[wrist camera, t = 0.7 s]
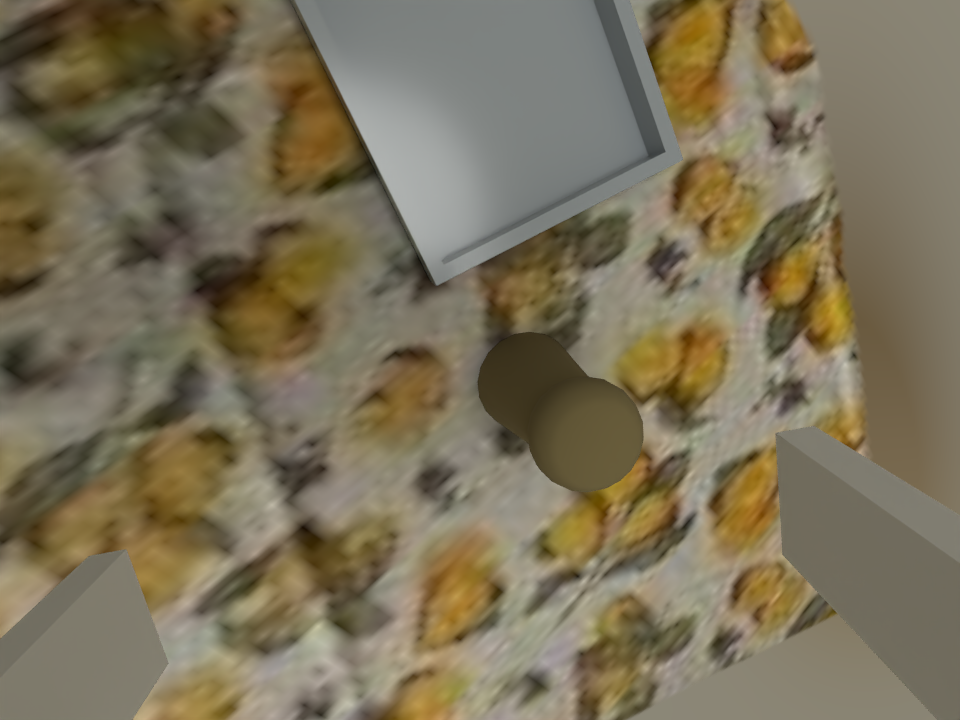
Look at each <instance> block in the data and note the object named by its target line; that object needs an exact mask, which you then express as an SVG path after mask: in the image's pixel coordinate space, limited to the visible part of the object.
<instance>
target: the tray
mask: <svg viewBox="0 0 960 720" xmlns="http://www.w3.org/2000/svg"><path fill="white" fill-rule="evenodd" d="M290 1H291V3H292V5H293V7H294V9H295V11H296V13H297V15H298V17H299V19H300V21H301V23H302V25H303V27H304V29H305V31H306V33H307V35H308V37H309V39H310V41H311V43H312V45H313V47H314V49H315V51H316V53H317V55H318V57H319V59H320V61H321V63H322V65H323V67H324V69H325V71H326V73H327V75H328V77H329V79H330V81H331V83H332V85H333V87H334V89H335V91H336V93H337V95H338V97H339V99H340V101H341V103H342V105H343V107H344V109H345V111H346V113H347V115H348V117H349V119H350V121H351V123H352V126H353V128H354V130H355V132H356V134H357V136H358V138H359V140H360V142H361V144H362V146H363V148H364V150H365V152H366V154H367V156H368V158H369V160H370V162H371V164H372V166H373V168H374V170H375V172H376V174H377V176H378V178H379V180H380V182H381V184H382V186H383V188H384V190H385V192H386V194H387V196H388V198H389V200H390V202H391V204H392V206H393V208H394V210H395V212H396V214H397V216H398V218H399V220H400V222H401V224H402V226H403V228H404V230H405V232H406V234H407V236H408V238H409V240H410V242H411V244H412V246H413V248H414V250H415V252H416V254H417V256H418V258H419V260H420V262H421V264H422V266H423V268H424V270H425V272H426V274H427V276H428V278H429V280H430V281H431V282H432V283H433V284H435V285H436V286H437V285H439V284H441V283H443V282H445V281H447V280H449V279H451V278H453V277H455V276H457V275H459V274H461V273H463V272H465V271H467V270H469V269H471V268H473V267H475V266H476V265H478V264H480V263H482V262H484V261H486V260H488V259H490V258H492V257H494V256H496V255H498V254H500V253H502V252H504V251H506V250H508V249H510V248H512V247H514V246H516V245H518V244H519V243H521V242H523V241H525V240H527V239H529V238H531V237H533V236H535V235H537V234H539V233H541V232H543V231H545V230H547V229H549V228H551V227H553V226H555V225H557V224H559V223H561V222H562V221H564V220H566V219H568V218H570V217H572V216H574V215H576V214H578V213H580V212H582V211H584V210H586V209H588V208H590V207H592V206H594V205H596V204H598V203H600V202H602V201H603V200H605V199H607V198H609V197H611V196H613V195H615V194H617V193H619V192H621V191H623V190H625V189H627V188H629V187H631V186H633V185H635V184H637V183H639V182H641V181H643V180H645V179H646V178H648V177H650V176H652V175H654V174H656V173H658V172H660V171H662V170H664V169H666V168H668V167H670V166H672V165H674V164H676V163H678V162H680V161H682V160H683V157H682V155H681V152H680V149H679V146H678V143H677V140H676V137H675V134H674V131H673V128H672V125H671V122H670V119H669V116H668V113H667V110H666V107H665V104H664V101H663V98H662V95H661V92H660V89H659V86H658V83H657V80H656V77H655V74H654V71H653V68H652V65H651V62H650V59H649V57H648V54H647V51H646V48H645V45H644V42H643V39H642V36H641V33H640V30H639V27H638V24H637V21H636V18H635V15H634V12H633V9H632V6H631V3H630V0H290Z"/></svg>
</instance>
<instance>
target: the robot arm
mask: <svg viewBox="0 0 960 720" xmlns="http://www.w3.org/2000/svg"><path fill="white" fill-rule="evenodd" d="M776 449H777V467H778V484H779V501H780V519H781V536H782V553H783V556H784V557H785V558H786V559H787V560H788V561H789V562H790V563H791V564H792V565H793V566H794V567H795V568H796V569H797V571H798V572H799V573H800V574H801V575H802V576H803V577H804V578H805V579H806V580H807V581H808V582H809V583H810V584H811V586H812V587H813V588H814V589H815V590H816V591H817V592H818V593H819V594H820V595H821V596H822V597H823V598H824V599H825V600H826V602H827V603H828V604H829V605H830V606H831V607H832V608H833V609H834V610H835V611H836V612H837V613H838V614H839V615H840V616H841V618H842V619H843V620H844V621H845V622H846V623H847V624H848V625H849V626H850V627H851V628H852V629H853V630H854V631H855V632H856V634H857V635H858V636H860V638H861V639H862V640H863V641H864V642H865V643H866V644H867V645H868V646H869V647H870V649H871V650H872V651H873V652H874V653H875V654H876V655H877V656H878V657H879V658H880V659H881V660H882V661H883V662H884V663H885V664H886V666H887V667H888V668H889V669H890V670H891V671H892V672H893V673H894V674H895V675H896V676H897V677H898V678H899V680H901V681H902V683H903V684H905V686H906V687H907V688H908V689H909V690H910V691H911V692H912V693H913V694H914V696H915V697H916V698H917V699H918V700H919V701H920V702H921V703H922V704H923V705H924V706H925V707H926V708H927V709H928V711H929V712H930V713H931V714H932V715H933V716H934V717H935V718H936V719H937V720H960V515H959V514H957V513H955V512H954V511H952V510H951V509H949V508H947V507H946V506H944V505H942V504H941V503H939V502H938V501H936V500H934V499H932V498H931V497H929V496H927V495H926V494H924V493H923V492H921V491H920V490H918V489H916V488H915V487H913V486H911V485H910V484H908V483H906V482H905V481H903V480H901V479H900V478H898V477H897V476H895V475H893V474H892V473H890V472H888V471H887V470H885V469H883V468H882V467H880V466H879V465H877V464H875V463H874V462H872V461H870V460H869V459H867V458H866V457H864V456H862V455H861V454H859V453H857V452H856V451H854V450H852V449H851V448H849V447H847V446H846V445H844V444H843V443H841V442H839V441H838V440H836V439H834V438H833V437H831V436H829V435H828V434H826V433H825V432H823V431H821V430H820V429H818V428H816V427H815V426H811V427H806V428H800V429H795V430H789V431H783V432H778V433H776ZM167 665H168V660H167V658H166V655H165V652H164V650H163V647H162V644H161V641H160V639H159V636H158V633H157V631H156V628H155V625H154V623H153V620H152V617H151V614H150V612H149V609H148V606H147V604H146V601H145V598H144V596H143V593H142V590H141V587H140V585H139V582H138V579H137V577H136V574H135V571H134V569H133V566H132V563H131V560H130V558H129V555H128V552H127V550H120V551H114V552H109V553H103V554H98V555H92V556H89V557H87V558H86V559H85V560H84V561H83V562H82V563H81V564H80V565H79V566H78V567H77V568H76V569H75V570H74V571H72V572H71V573H70V574H69V575H68V576H67V577H66V578H65V579H64V580H63V581H62V582H61V583H60V584H59V585H58V586H56V587H55V588H54V589H53V590H52V591H51V592H50V593H49V594H48V595H47V596H46V597H45V598H44V599H43V600H41V601H40V602H39V603H38V604H37V605H36V606H35V607H34V608H33V609H32V610H31V611H30V612H29V613H28V614H26V615H25V616H24V617H23V618H22V619H21V620H20V621H19V622H18V623H17V624H16V625H15V626H14V627H13V628H11V629H10V630H9V631H8V632H7V633H6V634H5V635H4V636H3V637H2V638H1V639H0V720H132V719H133V718H134V716H135V715H136V713H137V712H138V710H139V708H140V707H141V705H142V704H143V702H144V701H145V699H146V698H147V696H148V694H149V693H150V691H151V690H152V688H153V687H154V685H155V684H156V682H157V680H158V679H159V677H160V676H161V674H162V673H163V671H164V670H165V668H166V666H167Z"/></svg>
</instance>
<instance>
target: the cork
mask: <svg viewBox="0 0 960 720" xmlns="http://www.w3.org/2000/svg"><path fill="white" fill-rule="evenodd" d="M478 390H479V398H480V400H481V402H482V404H483V406H484V408H485V410H486V411H487V412H488V413H489V414H490V415H491V416H492V417H493V418H494V419H495V420H496V421H497V422H498V423H500V424H501V425H503V426H504V427H505V428H507V429H508V430H510V431H511V432H513V433H514V434H516V435H517V436H518V437H520V438H521V439H523V440H524V441H526V442H527V443H528V444H529V448H530V452H531V454H532V456H533V458H534V460H535V462H536V465H537V466H538V467H539V469H540V470H541V471H542V472H543V473H544V474H545V475H546V476H547V477H548V478H549V479H550V480H551V481H552V482H554V483H556V484H558V485H560V486H563V487H565V488H567V489H569V490H571V491H580V492H591V491H596V490H600V489H605V488H607V487H609V486H611V485H613V484H615V483H617V482H619V481H620V480H621V479H622V478H623V477H624V476H625V475H626V474H628V473H629V472H630V471H631V469H632V468H633V466H634V464H635V463H636V461H637V459H638V458H639V455H640V451H641V447H642V443H643V421H642V419H641V416H640V414H639V411H638V409H637V407H636V405H635V403H634V402H633V401H632V400H631V399H630V397H629V396H628V395H627V394H626V393H625V392H624V391H623V390H622V389H620V388H618V387H617V386H615V385H613V384H611V383H609V382H607V381H606V380H604V379H598V378H592V377H588V376H587V375H586V373H585V372H584V371H583V370H582V369H581V368H580V367H579V365H578V364H577V363H576V362H575V361H574V360H573V358H572V357H571V356H570V355H569V354H568V353H567V352H566V350H565V349H564V348H563V347H562V346H561V345H560V344H559V343H558V342H557V341H556V340H554V339H552V338H550V337H548V336H546V335H545V334H539V333H533V332H526V333H520V334H514V335H512V336H510V337H508V338H506V339H504V340H502V341H500V342H499V343H498V344H497V345H496V346H495V347H494V348H493V349H492V350H491V351H490V352H489V353H488V354H487V356H486V358H485V360H484V362H483V364H482V365H481V368H480V373H479V378H478Z"/></svg>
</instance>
